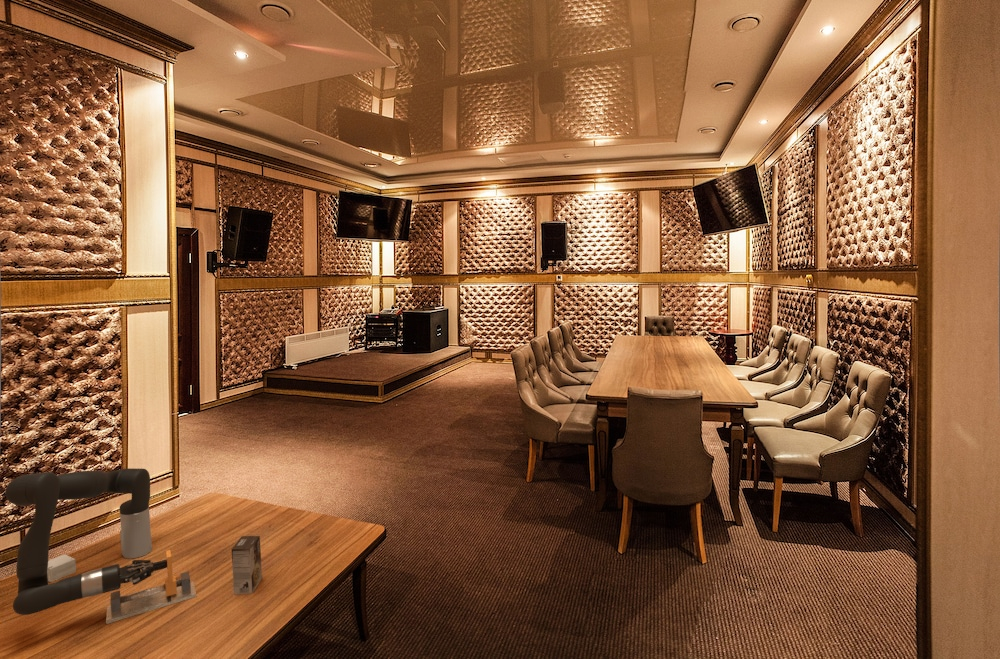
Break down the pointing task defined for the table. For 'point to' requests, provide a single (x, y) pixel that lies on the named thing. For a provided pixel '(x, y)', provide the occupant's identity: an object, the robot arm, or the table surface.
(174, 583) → the orange wooden plank
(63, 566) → the small box
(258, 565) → the coffee box
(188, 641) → the table surface
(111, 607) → the pipe stand
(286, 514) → the table surface
